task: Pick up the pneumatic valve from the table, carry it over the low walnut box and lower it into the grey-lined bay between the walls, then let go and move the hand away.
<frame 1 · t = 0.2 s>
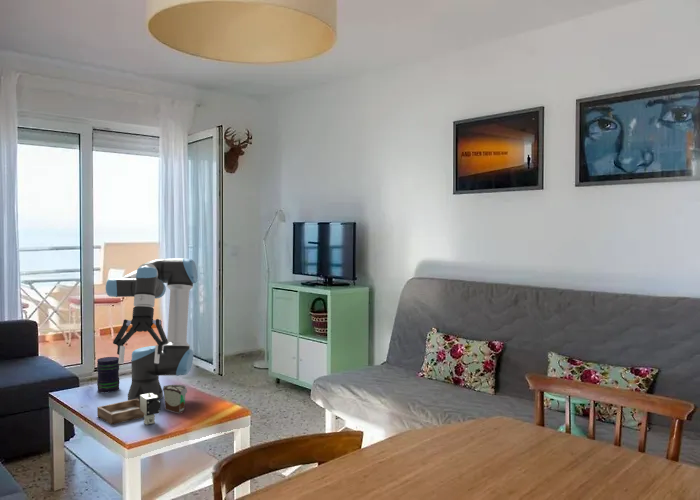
hand: (138, 363, 211), 27 cm above the table, tool tilted 15°, fingers open, 13 cm apart
walnut box: (125, 415, 234), on the table
pneumatic valve: (150, 423, 226), on the table
food container: (178, 410, 243), on the table
storage jar: (108, 390, 273), on the table
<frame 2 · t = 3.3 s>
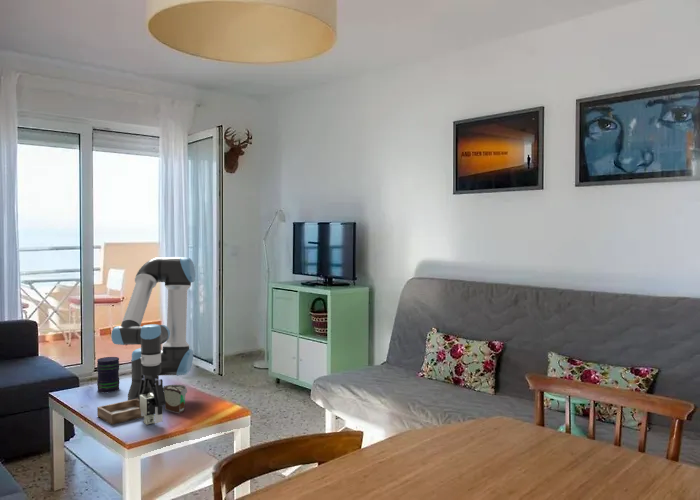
hand: (151, 418, 226), 2 cm above the table, tool pointing down, fingers closed on pneumatic valve, 11 cm apart
pneumatic valve: (150, 423, 226), on the table, touching gripper
everything else where it was.
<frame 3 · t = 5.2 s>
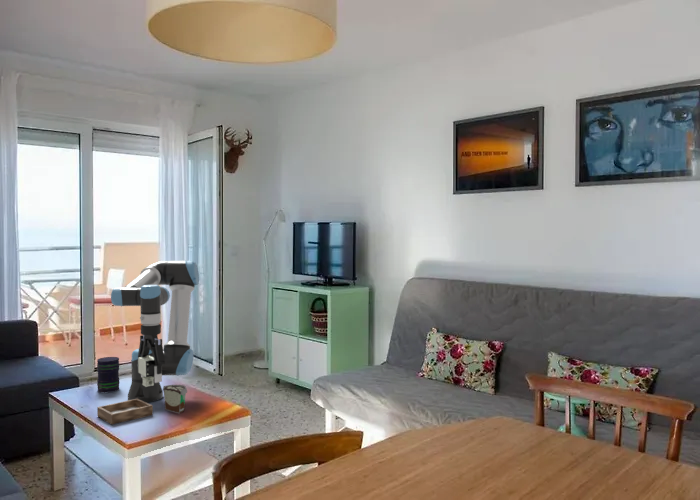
hand: (151, 379, 225), 17 cm above the table, tool pointing down, fingers closed on pneumatic valve, 11 cm apart
pneumatic valve: (149, 385, 226), point 15 cm above the table, touching gripper
everything else where it was.
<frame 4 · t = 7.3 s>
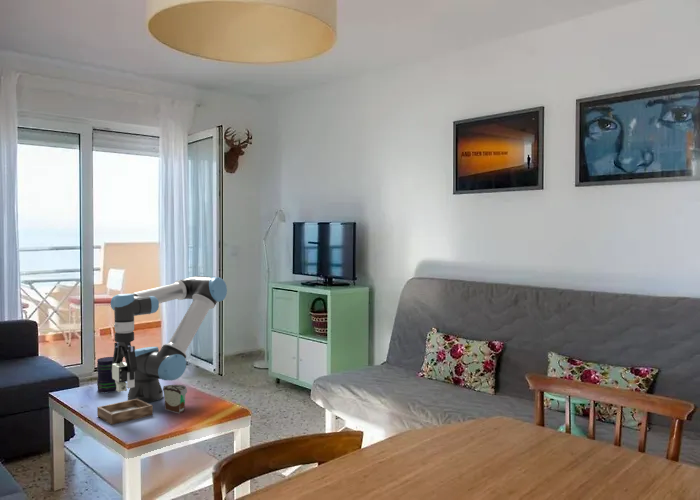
hand: (124, 384, 234), 13 cm above the table, tool pointing down, fingers closed on pneumatic valve, 11 cm apart
pneumatic valve: (122, 391, 234), point 10 cm above the table, touching gripper
everything else where it was.
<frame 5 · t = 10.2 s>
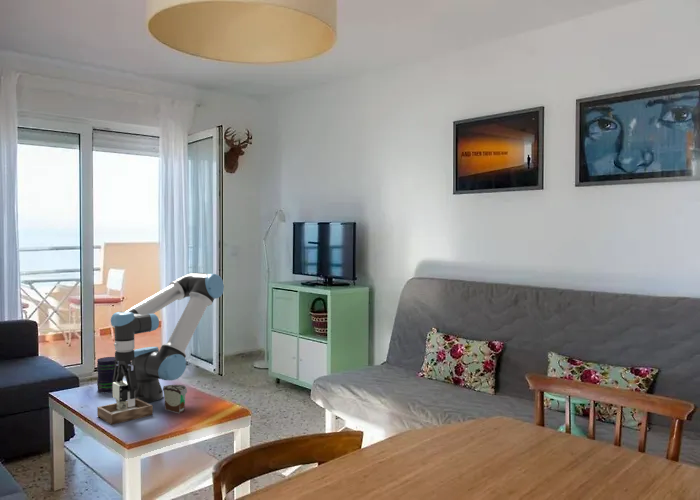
hand: (125, 403, 234), 5 cm above the table, tool pointing down, fingers closed on pneumatic valve, 11 cm apart
pneumatic valve: (123, 409, 234), point 3 cm above the table, touching gripper
everything else where it was.
when the fingers open (20 cm above the table, at t = 11.5 s): pneumatic valve drops 16 cm, resting on walnut box.
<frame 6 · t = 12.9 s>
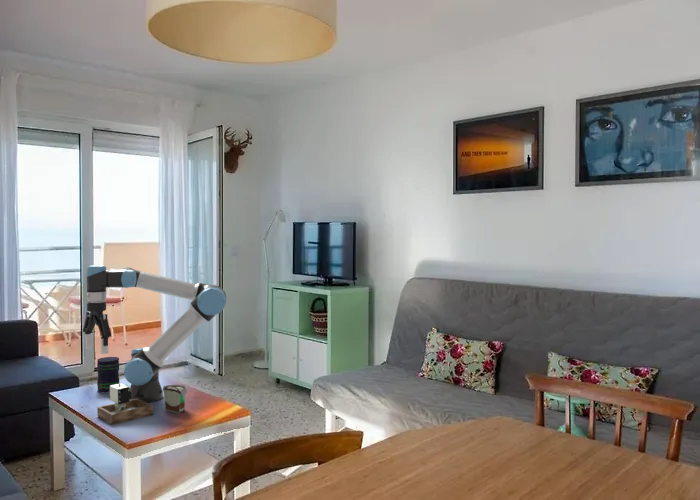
hand: (96, 351, 242), 25 cm above the table, tool pointing down, fingers open, 13 cm apart
pneumatic valve: (121, 412, 235), point 1 cm above the table, touching walnut box
everything else where it was.
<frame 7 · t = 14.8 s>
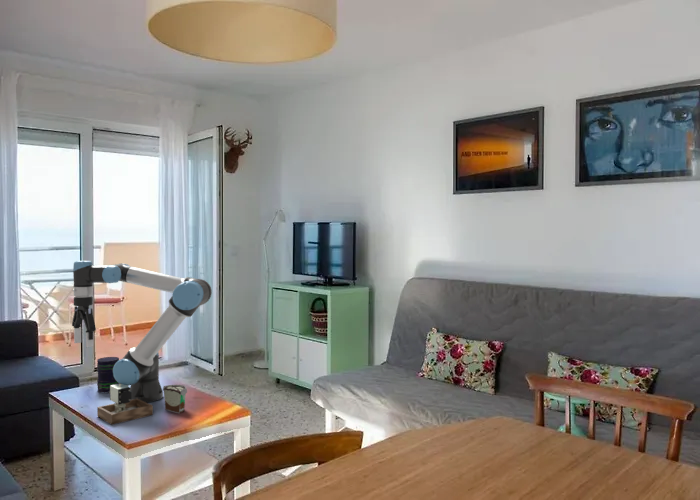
hand: (83, 345, 247), 27 cm above the table, tool pointing down, fingers open, 13 cm apart
nothing on the table moved.
at the end: pneumatic valve inside the target area on the walnut box (2.4 cm from its centre), point 1.0 cm above the walnut box's base; the gripper is holding nothing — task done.
